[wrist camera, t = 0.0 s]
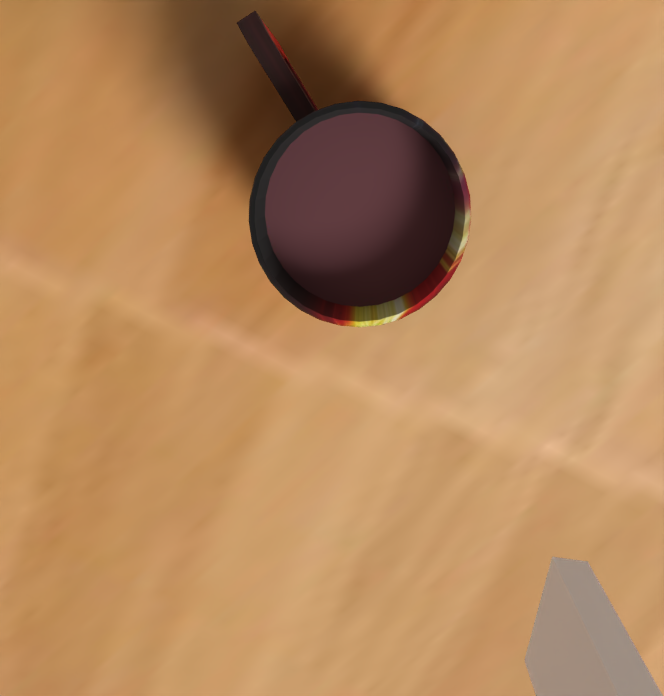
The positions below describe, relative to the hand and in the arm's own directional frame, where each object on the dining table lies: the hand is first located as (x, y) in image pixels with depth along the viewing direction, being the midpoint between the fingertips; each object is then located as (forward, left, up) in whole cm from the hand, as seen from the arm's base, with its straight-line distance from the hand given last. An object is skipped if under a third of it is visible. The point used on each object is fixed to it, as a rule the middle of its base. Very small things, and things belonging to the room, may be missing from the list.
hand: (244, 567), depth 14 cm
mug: (-7, 0, -28) cm, 29 cm away
